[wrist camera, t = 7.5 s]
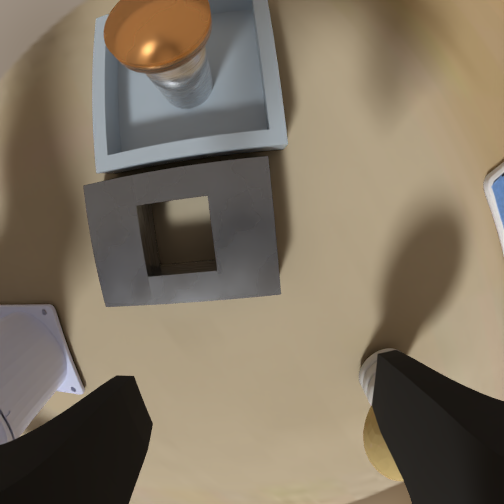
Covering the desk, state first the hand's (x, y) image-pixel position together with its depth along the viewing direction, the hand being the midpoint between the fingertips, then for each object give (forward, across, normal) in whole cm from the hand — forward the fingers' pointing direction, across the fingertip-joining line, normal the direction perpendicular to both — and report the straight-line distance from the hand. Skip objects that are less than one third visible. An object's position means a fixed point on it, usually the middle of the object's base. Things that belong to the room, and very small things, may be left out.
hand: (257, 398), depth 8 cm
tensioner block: (+10, +4, -4) cm, 12 cm away
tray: (+10, +2, -13) cm, 17 cm away
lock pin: (+10, +2, -12) cm, 16 cm away
